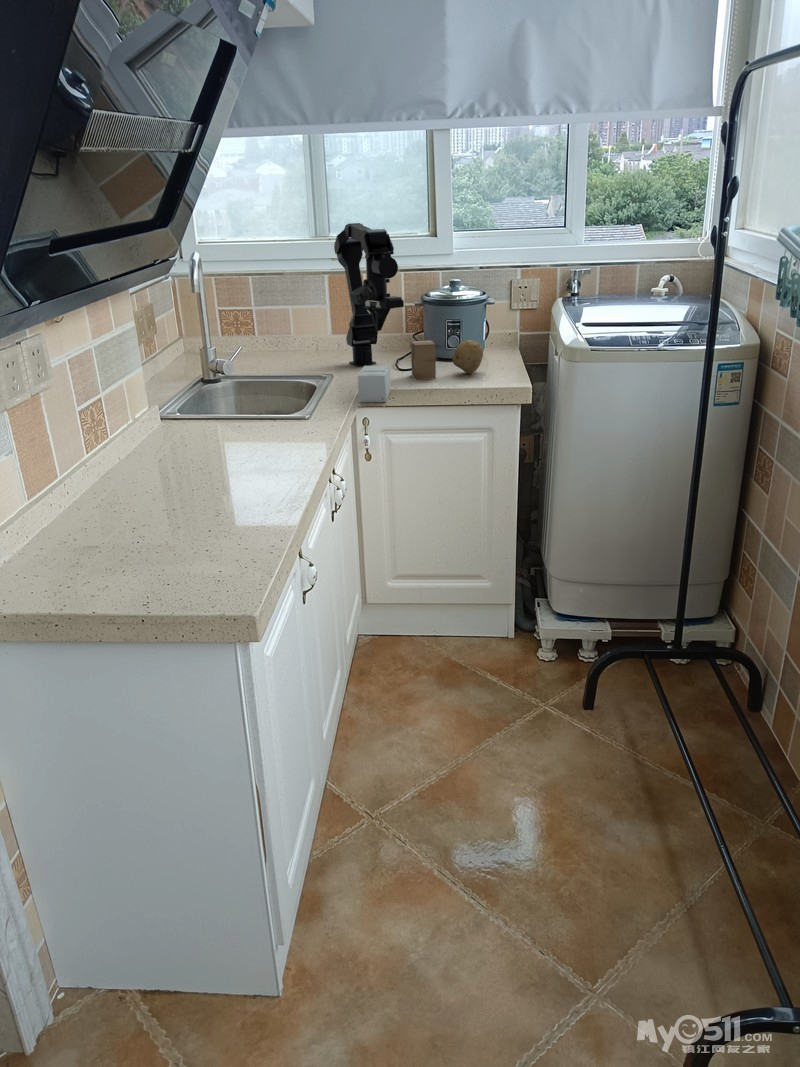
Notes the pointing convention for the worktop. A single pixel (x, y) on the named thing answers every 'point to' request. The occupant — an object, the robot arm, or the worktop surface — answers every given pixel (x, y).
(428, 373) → the walnut block
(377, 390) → the supplement box
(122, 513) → the worktop surface
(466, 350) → the natural sponge
